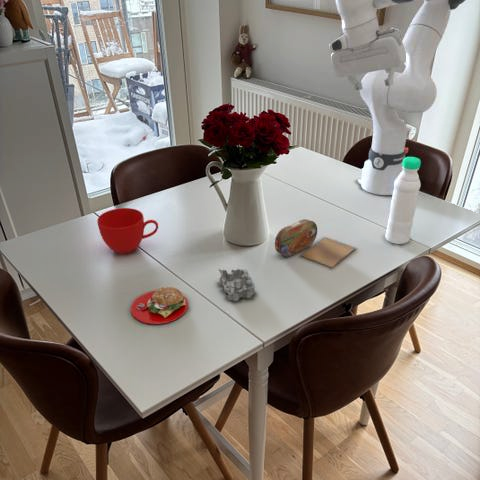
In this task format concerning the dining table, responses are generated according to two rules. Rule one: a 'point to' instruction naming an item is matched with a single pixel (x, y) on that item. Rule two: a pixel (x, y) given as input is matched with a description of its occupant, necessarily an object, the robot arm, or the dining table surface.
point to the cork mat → (328, 252)
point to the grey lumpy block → (237, 284)
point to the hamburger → (159, 306)
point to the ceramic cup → (123, 229)
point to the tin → (295, 237)
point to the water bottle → (404, 202)
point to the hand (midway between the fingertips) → (374, 87)
